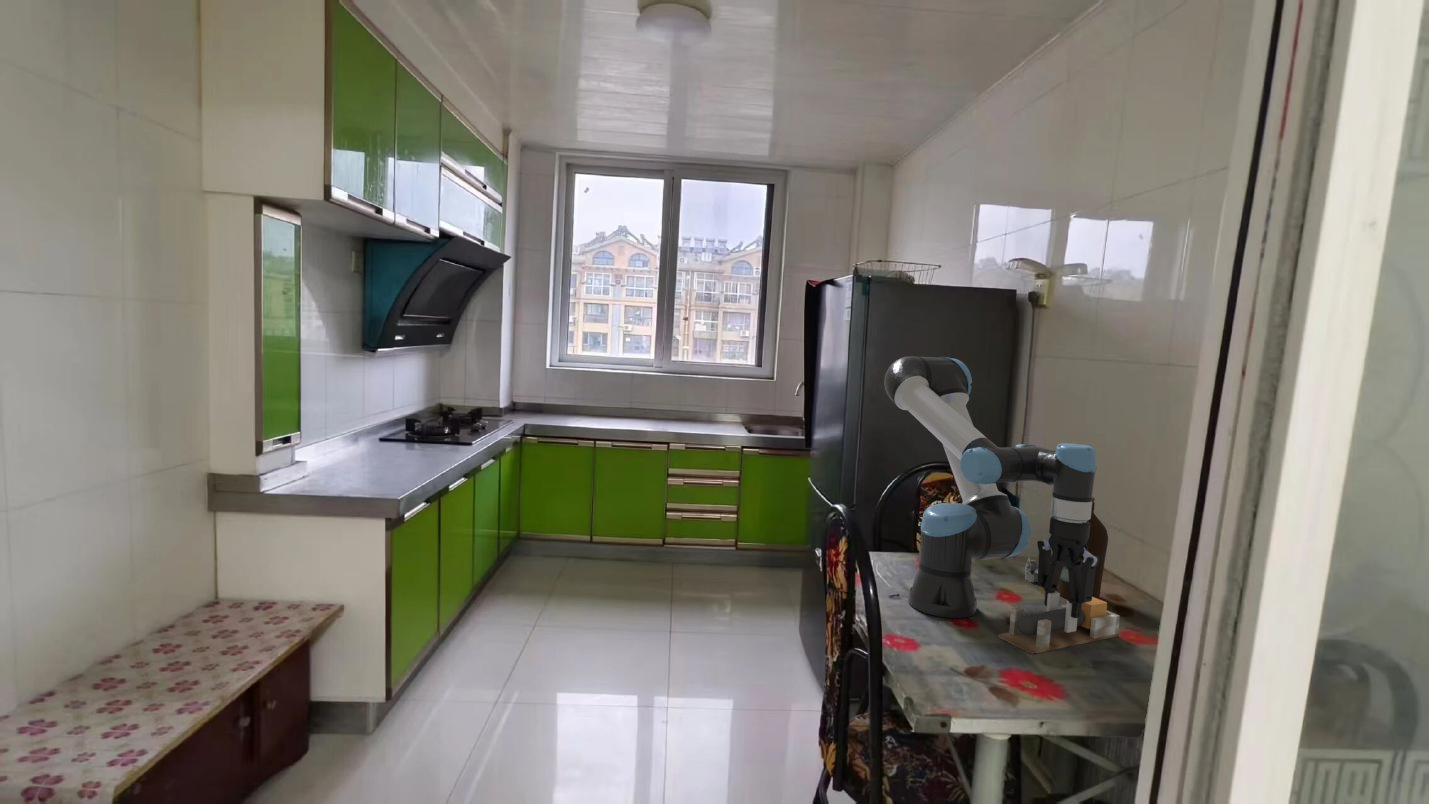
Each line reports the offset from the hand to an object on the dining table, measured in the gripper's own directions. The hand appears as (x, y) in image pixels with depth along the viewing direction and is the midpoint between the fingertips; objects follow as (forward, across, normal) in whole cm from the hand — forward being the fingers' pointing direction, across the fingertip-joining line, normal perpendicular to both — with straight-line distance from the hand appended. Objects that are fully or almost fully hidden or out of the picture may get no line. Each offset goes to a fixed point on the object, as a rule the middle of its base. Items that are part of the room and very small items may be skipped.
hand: (1060, 626), depth 153 cm
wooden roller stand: (+2, 0, 0) cm, 2 cm away
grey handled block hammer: (0, 0, +1) cm, 1 cm away
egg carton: (+3, +29, -28) cm, 41 cm away
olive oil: (+2, +16, -26) cm, 31 cm away
